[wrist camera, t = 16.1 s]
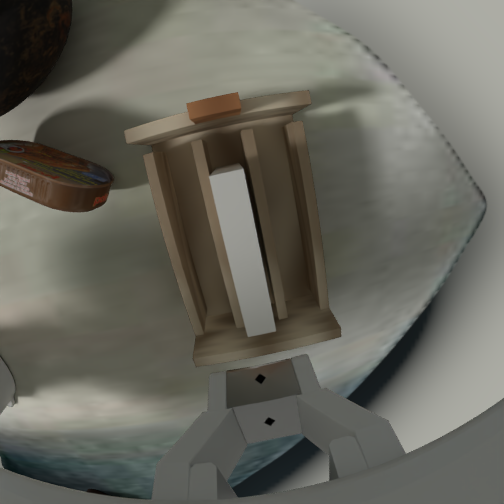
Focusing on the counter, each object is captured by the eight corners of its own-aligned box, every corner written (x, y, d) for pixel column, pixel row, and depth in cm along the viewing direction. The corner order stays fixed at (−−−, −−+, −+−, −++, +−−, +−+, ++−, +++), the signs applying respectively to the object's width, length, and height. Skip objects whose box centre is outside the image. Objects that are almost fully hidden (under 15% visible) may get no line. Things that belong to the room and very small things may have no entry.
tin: (126, 175, 27) (89, 185, 19) (117, 204, 28) (79, 225, 20) (21, 136, 24) (-28, 139, 16) (14, 163, 25) (-34, 171, 17)
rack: (202, 320, 32) (193, 390, 22) (152, 135, 26) (107, 128, 15) (318, 295, 32) (352, 357, 22) (287, 106, 26) (321, 81, 15)
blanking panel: (242, 278, 30) (247, 337, 20) (216, 167, 26) (208, 176, 17) (261, 274, 30) (276, 331, 20) (238, 162, 26) (243, 168, 17)
